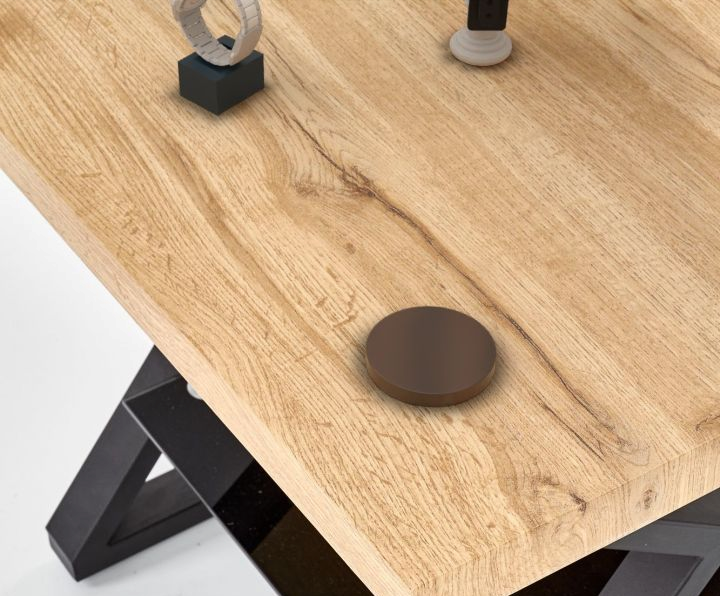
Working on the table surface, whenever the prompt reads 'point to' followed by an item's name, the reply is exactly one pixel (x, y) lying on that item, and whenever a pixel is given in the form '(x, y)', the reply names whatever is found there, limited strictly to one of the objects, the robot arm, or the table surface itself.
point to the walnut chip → (430, 356)
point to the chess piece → (480, 46)
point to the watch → (219, 57)
